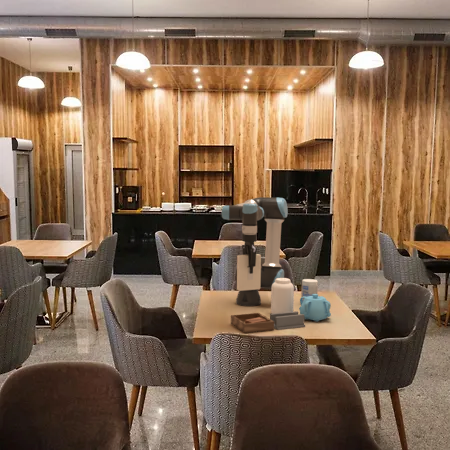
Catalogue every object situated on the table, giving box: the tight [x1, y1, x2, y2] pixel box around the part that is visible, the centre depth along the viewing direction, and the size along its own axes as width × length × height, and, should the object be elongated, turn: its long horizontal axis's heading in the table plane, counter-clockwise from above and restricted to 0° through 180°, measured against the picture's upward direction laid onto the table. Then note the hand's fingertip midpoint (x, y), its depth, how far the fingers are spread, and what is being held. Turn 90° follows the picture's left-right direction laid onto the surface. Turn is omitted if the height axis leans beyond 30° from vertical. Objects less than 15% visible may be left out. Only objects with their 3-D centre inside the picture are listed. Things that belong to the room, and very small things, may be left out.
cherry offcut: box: [245, 317, 266, 324], centre depth 264 cm, size 6×9×2 cm, turn 124°
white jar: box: [270, 277, 295, 314], centre depth 293 cm, size 12×12×20 cm
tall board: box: [236, 253, 262, 292], centre depth 269 cm, size 3×12×18 cm, turn 112°
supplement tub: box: [300, 278, 319, 302], centre depth 316 cm, size 10×10×15 cm
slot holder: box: [269, 311, 306, 331], centre depth 270 cm, size 10×16×6 cm, turn 112°
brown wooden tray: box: [230, 312, 275, 334], centre depth 267 cm, size 18×16×4 cm
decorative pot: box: [298, 293, 332, 322], centre depth 284 cm, size 16×16×14 cm
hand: (248, 278), depth 270 cm, fingers closed on tall board, 3 cm apart
